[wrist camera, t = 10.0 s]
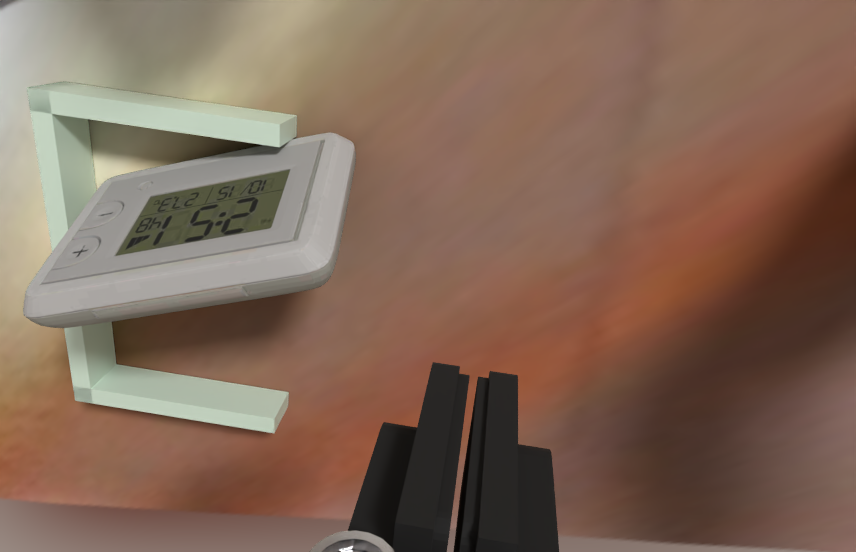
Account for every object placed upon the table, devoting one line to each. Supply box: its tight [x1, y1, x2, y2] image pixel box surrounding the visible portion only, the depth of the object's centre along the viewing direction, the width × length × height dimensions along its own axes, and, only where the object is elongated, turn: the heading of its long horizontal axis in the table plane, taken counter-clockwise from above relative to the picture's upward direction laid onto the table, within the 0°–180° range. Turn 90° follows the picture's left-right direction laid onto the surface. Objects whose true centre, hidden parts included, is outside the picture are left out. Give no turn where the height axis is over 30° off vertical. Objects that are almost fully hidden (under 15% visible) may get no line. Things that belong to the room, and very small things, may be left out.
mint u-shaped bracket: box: [27, 82, 297, 433], centre depth 36 cm, size 14×20×3 cm
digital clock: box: [23, 133, 356, 328], centre depth 31 cm, size 16×9×11 cm, turn 90°
